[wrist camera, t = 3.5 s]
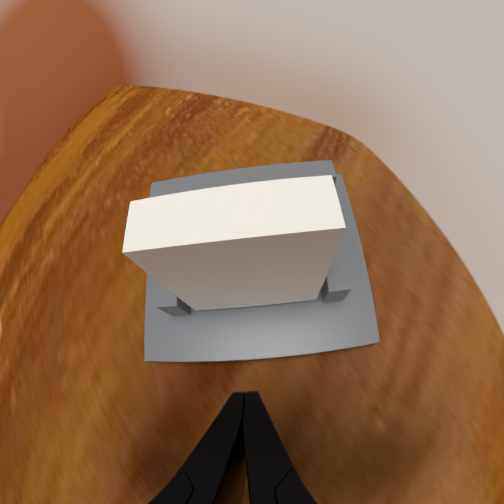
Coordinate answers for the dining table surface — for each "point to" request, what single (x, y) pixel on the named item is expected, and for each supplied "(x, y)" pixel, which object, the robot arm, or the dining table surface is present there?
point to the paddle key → (239, 241)
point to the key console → (266, 316)
